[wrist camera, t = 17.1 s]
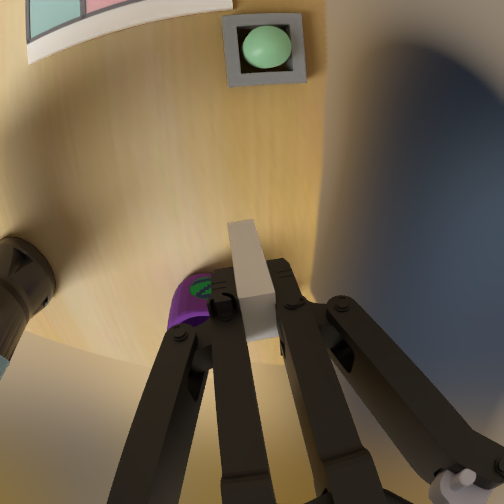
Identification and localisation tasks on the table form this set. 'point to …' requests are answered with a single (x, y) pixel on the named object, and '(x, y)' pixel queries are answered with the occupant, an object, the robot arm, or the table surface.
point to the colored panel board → (98, 19)
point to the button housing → (233, 23)
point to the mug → (191, 301)
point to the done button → (266, 47)
